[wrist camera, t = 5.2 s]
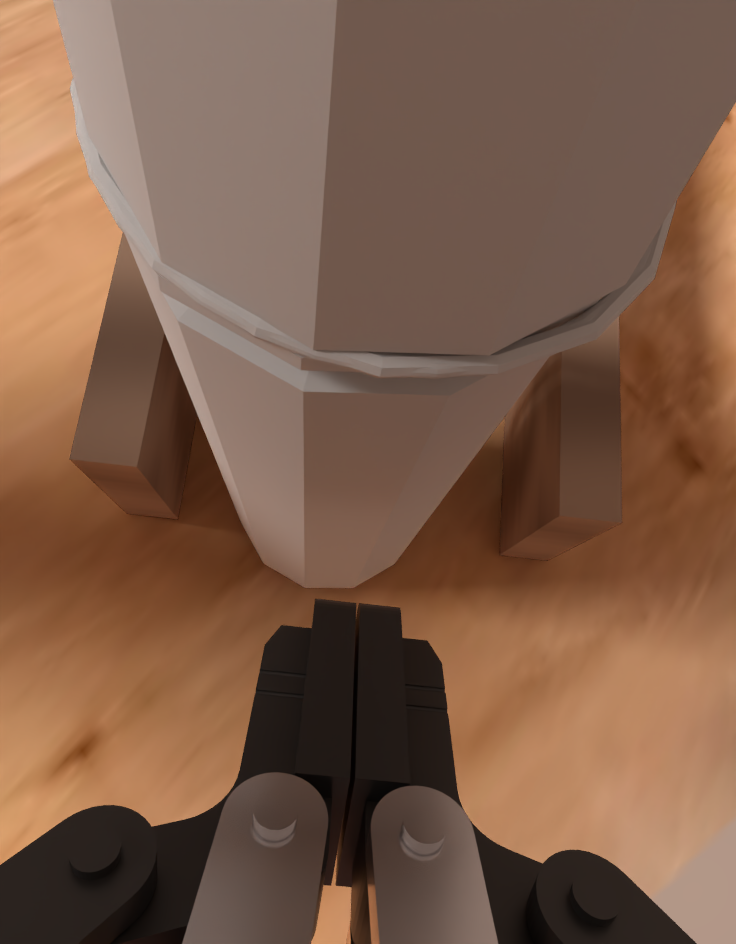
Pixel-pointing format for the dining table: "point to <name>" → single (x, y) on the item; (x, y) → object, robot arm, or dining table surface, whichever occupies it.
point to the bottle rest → (525, 432)
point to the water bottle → (385, 223)
